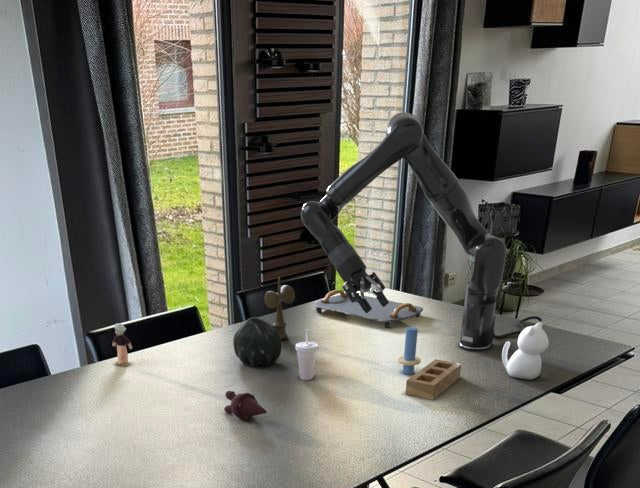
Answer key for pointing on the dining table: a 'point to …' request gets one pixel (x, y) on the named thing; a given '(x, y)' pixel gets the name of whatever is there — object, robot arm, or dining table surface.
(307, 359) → the smoothie
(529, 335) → the cat figurine
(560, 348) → the dining table surface
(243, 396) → the red gnome figurine
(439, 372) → the rack
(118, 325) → the grandmother figurine
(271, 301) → the kendama
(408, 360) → the peg
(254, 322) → the squash
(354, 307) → the serving tray
